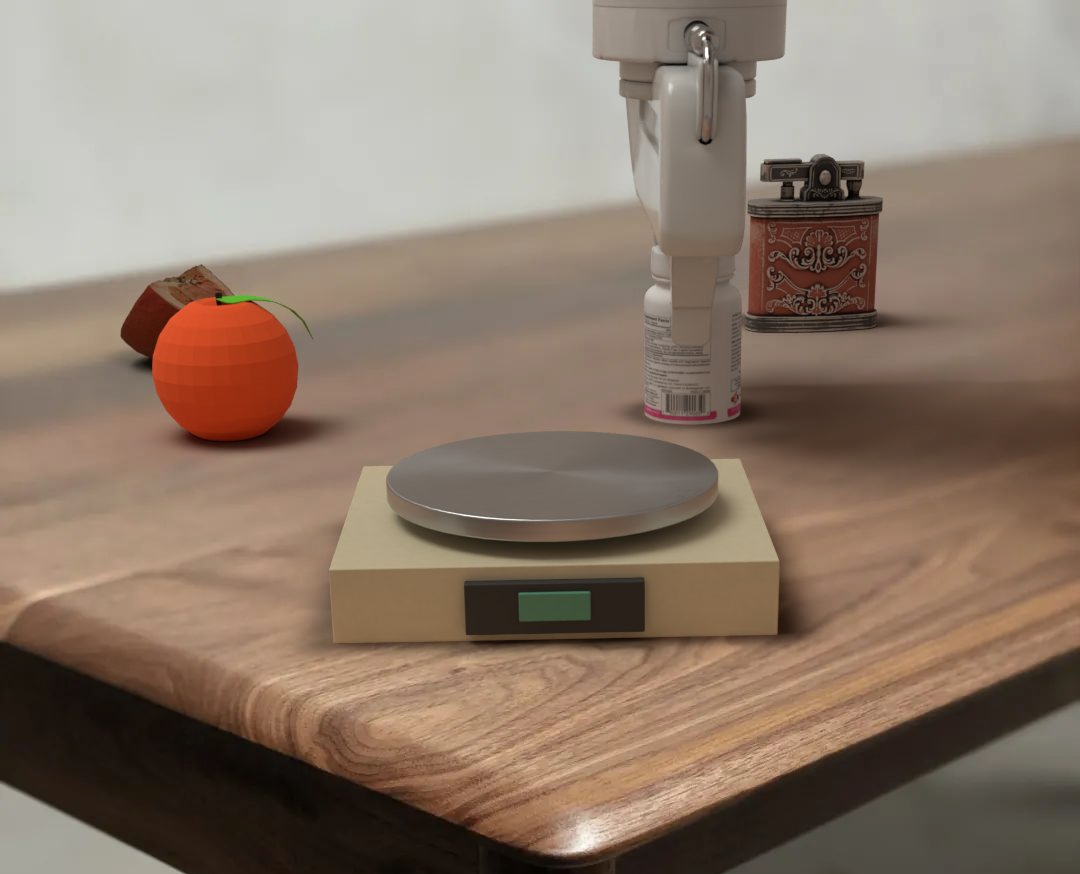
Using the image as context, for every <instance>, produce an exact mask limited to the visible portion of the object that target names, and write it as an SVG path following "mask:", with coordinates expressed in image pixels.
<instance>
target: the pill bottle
mask: <svg viewBox="0 0 1080 874" xmlns="http://www.w3.org/2000/svg"><path fill="white" fill-rule="evenodd" d="M735 256H736V255H734V256H719V268H718V278H717V283H716V288H715V294H714V299H713V304H712V314H711V337H710V340H709V342H708V343H707V344H706V345H704V346H678V345H676V344H674V342H673V341H672V338H671V335H670V302H671V285H670V266H669V264H670V256H667V255H665V254H663V253H662V251H661V250H660V247H659V245H656V246H654V245H653V246H652V247H651V250H650V272H651V279H653V280H654V281H655V284H654V285H652V286H651V287H650V288H649V289H648V290H646V292H645V294H644V298H643V382H644V384H643V386H644V391H643V392H644V395H643V396H644V400H643V401H644V403H643V404H644V405H643V407H644V415H645V416H646V418H648V419H651V420H652V421H656V422H660V423H666V424H673V425H691V426H692V425H710V424H718V423H723V422H728V421H732V420H735V419H736V418H737V417H739V416H740V415H741V407H742V406H741V404H742V389H741V388H742V383H741V382H742V381H741V380H742V379H741V378H742V370H741V369H742V336H743V335H742V325H743V323H742V322H743V321H742V319H743V317H742V316H743V313H742V312H743V301H742V299H743V298H742V293H741V291H740V290H739V288H738V287H737V286H735V285H734V284H732V283H731V281H730V280H733V279H734V278H735V272H736V269H737V268H736V257H735ZM656 281H657V282H656Z"/></svg>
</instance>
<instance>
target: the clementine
mask: <svg viewBox="0 0 1080 874" xmlns="http://www.w3.org/2000/svg"><path fill="white" fill-rule="evenodd" d="M255 301H256V302H255ZM257 301H258V302H262V301H263V302H268V303H275V304H277V305H279V306H281V307H284V308H286V309H287V310H289V311H290V312H292V314H294V315H295V317H297V318H298V319H299V320H300V321H301V322H302V324H303V325H304V327H305V329H306V331H307V333H308V334H309V336H310V337H311V339H312V340H314V338H313V336H312V333H311V330H310V329H309V327H308V325H307V323H306V321H305V320H304V319H303V318H302V317H301V316H300V314H298V313H297V312H296V310H295V309H292V308H290V307H288V306H286V305H285V304H282V303H280V302H277V301H274V300H272V299H269V298H267V297H262V296H257V295H246V294H237V295H235V296H226V297H222V293H220V292H219V293H215V297H211V298H205V299H200V300H197V301H193V302H191V303H189V304H187V305H186V306H184V307H183V308H182V309H181V310H180V311H179V312H177V313H176V314H175V315H174V316H173V317H172V318H170V320H169V321H168V323H167V324H166V326H165V327H164V329H163V330H162V332H161V333H160V335H159V337H158V340H157V344H156V347H155V350H154V353H153V359H152V364H151V365H152V369H151V375H152V380H153V384H154V388H155V389H154V390H155V393H156V395H157V397H158V399H159V400H160V402H161V404H162V406H163V408H164V409H165V411H166V412H167V413H168V415H169V416H170V417H171V418H172V419H173V420H174V421H175V422H176V423H177V424H178V425H179V426H180V428H182V429H184V430H185V431H187V432H189V433H191V434H192V435H194V436H195V437H197V438H200V439H203V440H207V441H214V442H234V441H236V442H238V441H244V440H249V439H253V438H256V437H259V436H261V435H264V434H265V433H267V432H268V431H269V430H270V429H272V428H273V427H274V426H275V425H276V424H278V423H279V422H280V421H281V420H282V418H283V417H284V416H285V414H286V413H287V412H288V410H289V409H290V407H291V406H292V404H293V400H294V397H295V395H296V391H297V389H298V380H299V379H298V378H299V359H298V356H297V351H296V350H297V349H296V346H295V343H294V342H293V340H292V338H291V336H290V334H289V332H288V330H287V328H286V327H285V325H283V324H282V323H281V321H280V320H279V319H278V318H277V317H276V316H275V315H274V314H273V313H271V312H270V311H269V310H267V309H266V308H264V307H263V306H261V305H260V304H258V303H257Z"/></svg>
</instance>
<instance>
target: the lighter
mask: <svg viewBox="0 0 1080 874" xmlns="http://www.w3.org/2000/svg"><path fill="white" fill-rule="evenodd" d="M759 167H760V170H759V171H760V172H759V174H760V175H759V182H761V183H782V185H780V197H765V198H753V199H749V200H747V215H748V216H749V217H750V218H749V254H748V255H749V258H748V259H749V260H748V262H749V263H748V298H747V299H748V300H747V301H748V303H747V305H748V306H747V310H746V311H745V312H744V329H746V330H747V331H752V332H762V333H797V332H798V333H801V332H802V333H803V332H804V333H805V332H808V333H809V332H833V331H834V332H835V331H848V330H850V331H851V330H863V329H871V328H875V327H876V326H877V321H878V310H877V309H876V308H875V304H876V303H875V302H876V285H877V267H878V266H877V264H878V242H879V225H880V223H879V222H880V213H881V214H882V213H883V205H884V204H883V202H884V198H883V197H881V196H876V195H860V191H861V189H862V186H863V180H864V179H865V161H864V160H857V159H856V160H855V159H854V160H836V159H835V158H834V157H832V156H830V155H828V154H826V153H816V154H814V155H812V157H810V160H809V161H803V159H801V157H800V158H799V157H798V158H797V157H795V158H794V157H792V158H765V159H763V162H762V163H760V166H759ZM841 181H846V182H845V186H846V189H847V195H846V194H845V190H844V188H843V189H842V185H841V184H842V182H841ZM794 182H803V186H802V187H800V189H799V195H798V196H795V185H794Z"/></svg>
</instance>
